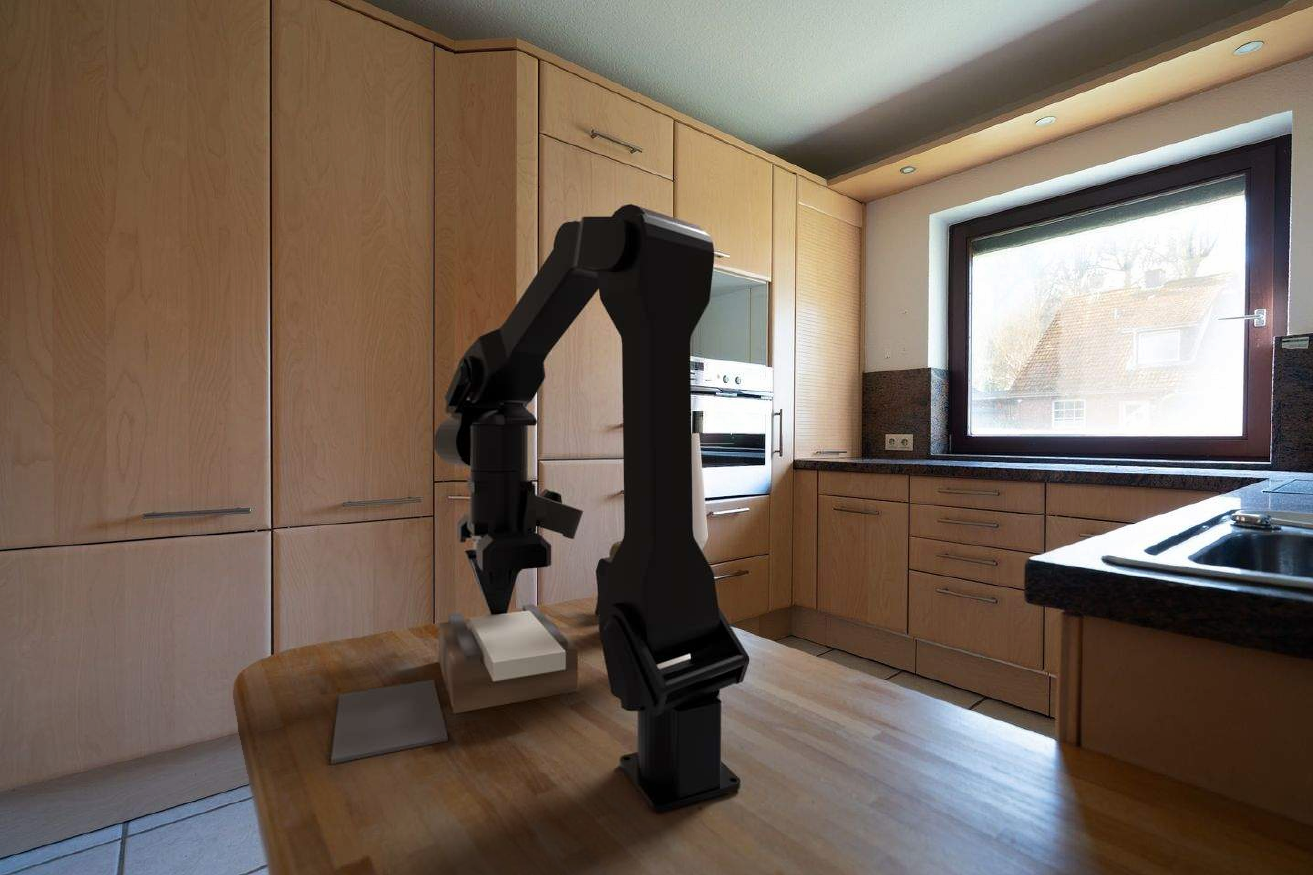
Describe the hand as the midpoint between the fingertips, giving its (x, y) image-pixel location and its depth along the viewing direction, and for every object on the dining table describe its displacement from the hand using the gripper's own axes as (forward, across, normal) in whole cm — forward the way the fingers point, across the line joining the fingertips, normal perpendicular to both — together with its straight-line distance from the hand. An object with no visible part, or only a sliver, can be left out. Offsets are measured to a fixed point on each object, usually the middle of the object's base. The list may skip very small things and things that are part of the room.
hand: (498, 621), depth 63 cm
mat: (+4, -8, +10) cm, 14 cm away
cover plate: (0, -7, 0) cm, 7 cm away
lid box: (+4, -3, 0) cm, 5 cm away
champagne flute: (+5, -6, -18) cm, 19 cm away
